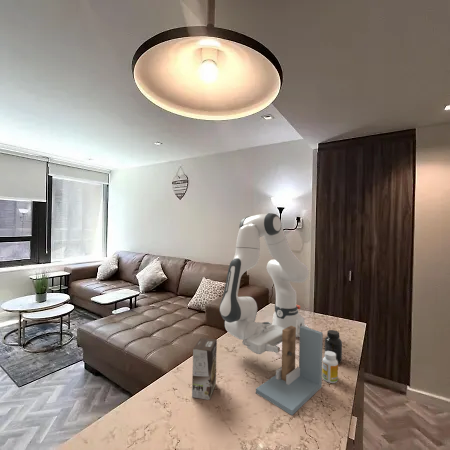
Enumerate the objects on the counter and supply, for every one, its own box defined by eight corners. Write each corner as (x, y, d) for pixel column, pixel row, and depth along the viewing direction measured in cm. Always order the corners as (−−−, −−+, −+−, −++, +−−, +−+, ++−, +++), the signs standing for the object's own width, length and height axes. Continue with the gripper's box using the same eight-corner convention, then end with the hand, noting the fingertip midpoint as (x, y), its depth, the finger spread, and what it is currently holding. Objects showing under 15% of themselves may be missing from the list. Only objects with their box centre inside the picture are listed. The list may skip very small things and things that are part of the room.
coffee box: (210, 400, 82) (211, 351, 82) (191, 397, 83) (192, 348, 83) (216, 383, 91) (217, 338, 91) (199, 381, 92) (200, 336, 92)
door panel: (290, 372, 96) (291, 325, 96) (297, 376, 94) (298, 328, 94) (281, 379, 92) (282, 329, 92) (289, 383, 89) (290, 332, 89)
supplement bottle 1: (326, 354, 114) (326, 327, 114) (342, 358, 110) (343, 331, 110) (323, 360, 108) (323, 332, 108) (340, 365, 104) (341, 336, 104)
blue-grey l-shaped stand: (287, 370, 100) (288, 321, 100) (321, 387, 90) (322, 332, 90) (255, 392, 86) (256, 335, 86) (292, 415, 76) (293, 351, 76)
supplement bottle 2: (338, 377, 96) (338, 352, 96) (336, 385, 91) (337, 358, 91) (323, 373, 99) (324, 348, 99) (321, 380, 94) (321, 354, 94)
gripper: (239, 333, 97) (269, 346, 87) (271, 320, 111) (299, 330, 101) (239, 350, 97) (269, 364, 87) (270, 334, 111) (299, 346, 101)
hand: (285, 346), depth 94 cm, fingers open, 8 cm apart
